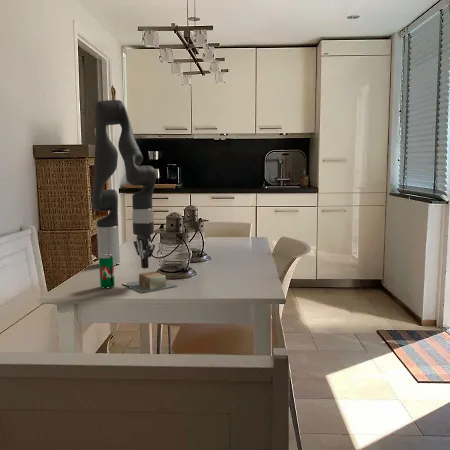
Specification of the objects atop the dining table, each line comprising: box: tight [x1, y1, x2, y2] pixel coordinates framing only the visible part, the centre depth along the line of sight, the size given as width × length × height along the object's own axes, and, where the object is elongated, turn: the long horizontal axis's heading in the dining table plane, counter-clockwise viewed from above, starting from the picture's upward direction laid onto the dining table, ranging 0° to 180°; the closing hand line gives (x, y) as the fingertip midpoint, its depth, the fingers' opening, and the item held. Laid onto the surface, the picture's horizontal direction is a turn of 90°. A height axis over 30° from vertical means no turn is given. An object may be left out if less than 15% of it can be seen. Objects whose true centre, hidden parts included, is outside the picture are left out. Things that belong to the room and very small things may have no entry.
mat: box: [126, 280, 178, 293], centre depth 174 cm, size 16×14×1 cm
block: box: [138, 271, 167, 289], centre depth 172 cm, size 4×6×9 cm
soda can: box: [98, 253, 116, 289], centre depth 172 cm, size 5×5×12 cm
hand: (145, 268), depth 176 cm, fingers closed
